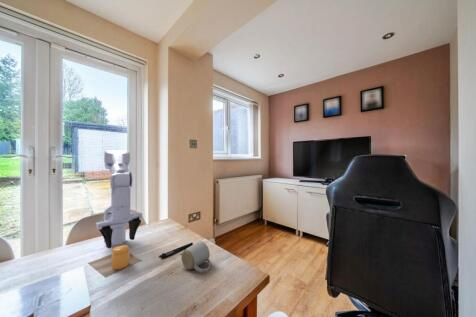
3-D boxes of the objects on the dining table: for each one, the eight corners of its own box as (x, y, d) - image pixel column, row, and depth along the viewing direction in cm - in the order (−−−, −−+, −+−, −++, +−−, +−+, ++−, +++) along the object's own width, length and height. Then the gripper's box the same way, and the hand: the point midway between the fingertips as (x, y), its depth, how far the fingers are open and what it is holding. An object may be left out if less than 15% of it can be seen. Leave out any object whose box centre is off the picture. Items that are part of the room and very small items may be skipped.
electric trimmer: (195, 250, 80) (195, 243, 80) (161, 265, 68) (161, 257, 68) (190, 248, 82) (190, 240, 82) (156, 261, 70) (156, 253, 71)
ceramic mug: (179, 267, 67) (179, 246, 67) (196, 257, 73) (196, 238, 73) (199, 278, 60) (199, 255, 60) (215, 266, 67) (216, 245, 67)
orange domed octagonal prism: (109, 266, 64) (109, 249, 64) (124, 259, 69) (124, 243, 69) (116, 270, 62) (116, 253, 62) (131, 263, 66) (131, 247, 66)
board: (87, 267, 66) (87, 252, 66) (122, 253, 76) (123, 240, 76) (105, 282, 58) (105, 265, 58) (142, 264, 68) (142, 249, 68)
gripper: (102, 212, 57) (102, 255, 57) (146, 203, 69) (146, 238, 69) (93, 208, 61) (93, 249, 61) (137, 200, 73) (136, 234, 73)
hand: (120, 243), depth 65 cm, fingers open, 7 cm apart
